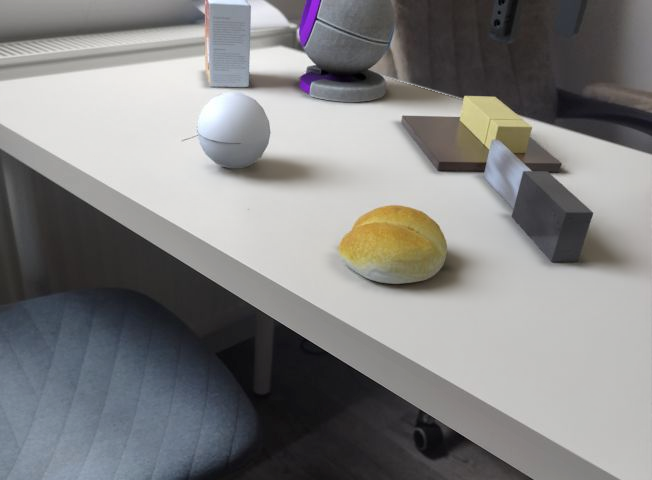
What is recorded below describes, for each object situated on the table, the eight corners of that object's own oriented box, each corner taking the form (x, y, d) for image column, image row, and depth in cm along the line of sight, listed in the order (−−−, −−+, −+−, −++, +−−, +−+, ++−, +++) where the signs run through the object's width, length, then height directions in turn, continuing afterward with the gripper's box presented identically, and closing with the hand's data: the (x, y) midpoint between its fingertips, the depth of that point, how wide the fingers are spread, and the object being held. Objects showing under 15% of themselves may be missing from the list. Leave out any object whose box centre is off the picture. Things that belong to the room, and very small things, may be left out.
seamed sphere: (246, 149, 76) (247, 80, 72) (282, 173, 71) (286, 99, 67) (161, 163, 71) (157, 89, 67) (193, 189, 66) (191, 111, 62)
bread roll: (326, 274, 54) (330, 227, 52) (361, 230, 61) (367, 187, 59) (428, 299, 52) (438, 252, 50) (453, 251, 59) (463, 207, 57)
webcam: (293, 74, 103) (300, -41, 95) (378, 79, 104) (392, -34, 96) (298, 99, 93) (305, -27, 84) (392, 104, 94) (409, -20, 85)
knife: (577, 261, 59) (593, 212, 56) (551, 262, 59) (566, 212, 56) (497, 176, 74) (507, 134, 72) (476, 176, 74) (485, 134, 71)
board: (506, 125, 89) (508, 117, 89) (559, 172, 76) (562, 163, 76) (400, 123, 87) (402, 115, 87) (437, 170, 74) (439, 161, 74)
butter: (489, 121, 87) (495, 96, 85) (517, 145, 80) (523, 119, 78) (459, 120, 87) (464, 95, 85) (484, 145, 79) (489, 118, 78)
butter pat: (517, 146, 80) (524, 119, 78) (525, 153, 78) (532, 126, 76) (484, 145, 79) (490, 119, 77) (492, 152, 77) (498, 126, 76)
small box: (205, 71, 101) (203, -9, 95) (243, 72, 102) (244, -7, 96) (208, 87, 95) (207, 2, 89) (249, 88, 96) (251, 4, 90)
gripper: (573, -208, 45) (513, 54, 55) (689, -187, 53) (619, 42, 62) (487, -207, 50) (445, 34, 60) (604, -188, 57) (551, 25, 67)
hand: (534, 38), depth 61 cm, fingers open, 8 cm apart
